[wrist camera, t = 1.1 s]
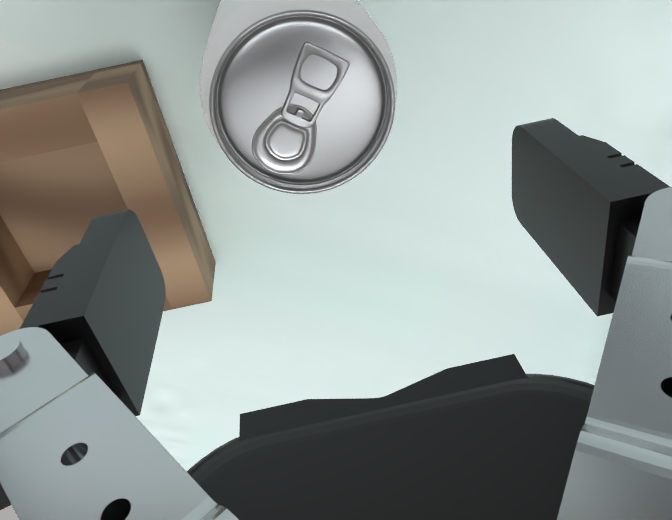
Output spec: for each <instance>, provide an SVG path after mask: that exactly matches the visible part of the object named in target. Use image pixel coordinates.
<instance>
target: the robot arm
mask: <svg viewBox="0 0 672 520" xmlns="http://www.w3.org/2000/svg"><path fill="white" fill-rule="evenodd" d="M512 201H513V206H514V210H515V213H516V216H517V218H518V220H519V222H520V223H521V224H522V226H523V227H524V228H525V229H526V230H527V232H528V233H529V234H530V235H531V236H532V238H533V239H534V240H535V241H536V243H537V244H538V245H539V246H540V247H541V249H542V250H543V251H544V252H545V253H546V255H547V256H548V257H549V258H550V260H551V261H552V262H553V263H554V264H555V266H556V267H557V268H558V269H559V270H560V272H561V273H562V274H563V275H564V277H565V278H566V279H567V280H568V281H569V283H570V284H571V285H572V286H573V287H574V289H575V290H576V291H577V292H578V293H579V295H580V296H581V297H582V298H583V300H584V301H585V302H586V303H587V304H588V306H589V307H590V308H591V309H592V310H593V312H594V313H595V314H596V315H597V316H601V315H605V314H610V313H613V316H612V320H611V324H610V328H609V332H608V336H607V340H606V344H605V348H604V351H603V355H602V359H601V363H600V367H599V371H598V375H597V379H596V383H595V385H592V384H589V383H586V382H582V381H578V380H575V379H571V378H566V377H560V376H554V375H543V374H525V372H524V370H523V369H522V367H521V365H520V363H519V362H518V360H517V358H516V356H515V355H514V354H512V355H507V356H503V357H498V358H493V359H489V360H484V361H480V362H475V363H471V364H466V365H462V366H457V367H452V368H448V369H445V370H443V371H441V372H439V373H436V374H434V375H432V376H430V377H427V378H425V379H423V380H421V381H418V382H416V383H414V384H412V385H410V386H407V387H405V388H403V389H401V390H398V391H396V392H394V393H392V394H389V395H387V396H384V397H381V398H369V399H307V400H302V401H298V402H293V403H289V404H284V405H280V406H275V407H270V408H266V409H261V410H257V411H252V412H248V413H243V414H240V437H238V438H235V439H233V440H231V441H229V442H227V443H226V444H224V445H222V446H220V447H219V448H217V449H215V450H214V451H212V452H211V453H210V454H208V455H207V456H205V457H204V458H202V459H201V460H200V461H199V462H197V463H196V464H195V465H194V466H193V467H192V468H190V469H189V470H188V471H187V472H186V471H185V470H184V468H183V467H182V466H181V465H180V464H179V463H178V462H177V461H176V460H175V459H174V458H173V457H172V455H171V454H170V453H169V452H168V451H167V450H166V449H165V448H164V447H163V446H162V445H161V444H160V442H159V441H158V440H157V439H156V438H155V437H154V436H153V435H152V434H151V433H150V432H149V431H148V430H147V428H146V427H145V426H144V425H143V424H142V423H141V422H140V421H139V420H138V419H137V418H136V417H135V416H138V415H140V412H141V407H142V403H143V398H144V394H145V389H146V385H147V380H148V376H149V371H150V367H151V362H152V358H153V353H154V349H155V344H156V340H157V335H158V331H159V326H160V322H161V317H162V313H163V308H164V304H165V299H166V289H165V282H164V278H163V274H162V272H161V269H160V267H159V264H158V262H157V260H156V257H155V255H154V253H153V251H152V248H151V246H150V244H149V241H148V239H147V237H146V234H145V232H144V230H143V228H142V225H141V223H140V221H139V219H138V217H137V215H136V214H135V213H134V212H133V211H132V210H130V209H129V210H124V211H120V212H115V213H111V214H106V215H101V216H97V217H94V218H93V219H92V220H91V222H90V224H89V226H88V228H87V230H86V232H85V234H84V236H83V238H82V240H81V242H80V244H77V245H74V246H73V247H71V248H70V249H69V250H68V251H67V252H66V253H65V254H64V255H63V256H62V257H60V258H59V259H58V260H57V261H56V263H55V265H54V266H53V268H52V270H51V272H50V274H49V276H48V280H46V281H45V283H44V285H43V287H42V288H41V290H40V291H41V293H40V294H38V296H37V298H36V299H35V301H34V303H33V305H32V307H31V309H30V310H29V312H28V314H27V316H26V318H25V319H24V321H23V323H22V325H21V327H20V329H18V330H15V331H12V332H9V333H6V334H4V335H1V336H0V510H1V509H3V508H5V507H7V506H10V505H12V506H13V508H14V510H15V512H16V514H17V516H18V518H19V520H672V187H670V186H668V185H667V184H665V183H664V182H662V181H661V180H659V179H658V178H657V177H655V176H654V175H652V174H651V173H649V172H648V171H646V170H645V169H643V168H642V167H641V166H639V165H638V164H637V165H634V162H633V161H632V160H630V159H629V158H628V157H626V156H625V155H624V156H622V155H621V153H620V152H619V151H617V150H616V149H614V148H613V147H612V146H610V145H609V144H607V143H606V142H602V141H599V140H596V139H593V138H589V137H586V136H583V135H582V136H578V135H577V134H575V133H574V132H572V131H571V130H570V129H568V128H567V127H566V126H564V125H563V124H561V123H560V122H559V121H557V120H556V119H554V118H551V119H547V120H542V121H538V122H533V123H528V124H524V125H519V126H516V127H515V129H514V131H513V135H512Z"/></svg>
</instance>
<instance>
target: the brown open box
mask: <svg viewBox="0 0 672 520" xmlns="http://www.w3.org/2000/svg"><path fill="white" fill-rule="evenodd" d="M129 209H130V210H132V211H133V212H134V213H135V214H136V215H137V217H138V219H139V221H140V223H141V225H142V228H143V230H144V232H145V234H146V237H147V239H148V241H149V244H150V246H151V248H152V251H153V253H154V255H155V257H156V260H157V262H158V264H159V267H160V269H161V272H162V274H163V278H164V282H165V289H166V299H165V304H164V308H163V311H167V310H171V309H176V308H181V307H185V306H190V305H195V304H199V303H204V302H209V301H211V300H212V290H213V281H214V271H215V260H214V257H213V254H212V252H211V249H210V246H209V243H208V240H207V238H206V235H205V232H204V229H203V227H202V224H201V221H200V218H199V215H198V213H197V210H196V207H195V204H194V202H193V199H192V196H191V193H190V190H189V188H188V185H187V182H186V179H185V177H184V174H183V171H182V168H181V165H180V163H179V160H178V157H177V154H176V152H175V149H174V146H173V143H172V140H171V138H170V135H169V132H168V129H167V127H166V124H165V121H164V118H163V115H162V113H161V110H160V107H159V104H158V102H157V99H156V96H155V93H154V90H153V88H152V85H151V82H150V79H149V77H148V74H147V71H146V68H145V65H144V63H143V60H141V61H136V62H132V63H127V64H122V65H117V66H113V67H108V68H103V69H98V70H94V71H89V72H84V73H79V74H75V75H70V76H65V77H60V78H55V79H51V80H46V81H41V82H36V83H32V84H27V85H22V86H17V87H13V88H8V89H3V90H0V336H1V335H4V334H6V333H9V332H12V331H15V330H18V329H20V327H21V325H22V323H23V321H24V319H25V318H26V316H27V314H28V312H29V310H30V309H31V307H32V305H33V303H34V301H35V299H36V298H37V296H38V294H40V293H41V291H40V290H41V288H42V287H43V285H44V283H45V281H46V280H48V276H49V274H50V272H51V270H52V268H53V266H54V265H55V263H56V261H57V260H58V259H59V258H60V257H62V256H63V255H64V254H65V253H66V252H67V251H68V250H69V249H70V248H71V247H73V246H74V245H77V244H80V242H81V240H82V238H83V236H84V234H85V232H86V230H87V228H88V226H89V224H90V222H91V220H92V219H93V218H94V217H97V216H101V215H106V214H111V213H115V212H120V211H124V210H129Z"/></svg>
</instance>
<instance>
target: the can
mask: <svg viewBox="0 0 672 520" xmlns="http://www.w3.org/2000/svg"><path fill="white" fill-rule="evenodd" d="M396 94H397V78H396V70H395V64H394V60H393V57H392V54H391V51H390V48H389V46H388V43H387V41H386V39H385V37H384V35H383V34H382V32H381V30H380V29H379V27H378V26H377V25H376V23H375V22H374V21H373V19H372V18H371V17H370V15H369V14H368V13H367V12H366V11H365V10H364V9H363V8H362V7H361V5H360V4H359V3H358V2H357V1H356V0H221V1H220V4H219V6H218V9H217V12H216V15H215V18H214V22H213V25H212V28H211V31H210V34H209V38H208V41H207V44H206V48H205V52H204V55H203V60H202V65H201V72H200V95H201V103H202V108H203V112H204V115H205V118H206V121H207V123H208V126H209V128H210V130H211V132H212V134H213V136H214V137H215V139H216V140H217V142H218V143H219V145H220V146H221V148H222V150H223V151H224V153H225V154H226V156H227V157H228V158H229V160H230V161H231V162H232V163H233V164H234V165H235V166H236V167H237V168H238V169H239V170H240V171H241V172H242V173H243V174H245V175H246V176H247V177H249V178H250V179H252V180H253V181H255V182H257V183H259V184H261V185H263V186H265V187H268V188H270V189H273V190H277V191H281V192H286V193H293V194H310V193H318V192H322V191H326V190H330V189H333V188H336V187H338V186H340V185H342V184H344V183H346V182H348V181H350V180H352V179H353V178H355V177H356V176H357V175H359V174H360V173H361V172H362V171H364V170H365V169H366V168H367V167H368V166H369V165H370V164H371V163H372V162H373V160H374V159H375V158H376V157H377V155H378V154H379V152H380V151H381V149H382V148H383V146H384V144H385V142H386V140H387V138H388V135H389V133H390V130H391V127H392V123H393V118H394V111H395V102H396Z"/></svg>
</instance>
